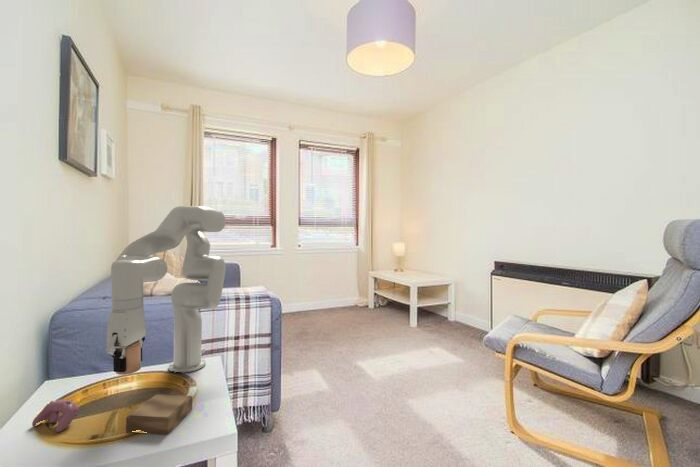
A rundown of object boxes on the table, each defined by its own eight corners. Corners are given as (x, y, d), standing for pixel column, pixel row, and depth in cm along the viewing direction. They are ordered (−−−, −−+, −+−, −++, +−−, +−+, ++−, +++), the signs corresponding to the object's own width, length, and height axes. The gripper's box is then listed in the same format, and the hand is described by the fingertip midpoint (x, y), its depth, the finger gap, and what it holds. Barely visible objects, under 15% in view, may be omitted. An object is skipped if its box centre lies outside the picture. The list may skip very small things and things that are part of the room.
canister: (125, 365, 101) (125, 340, 101) (145, 365, 101) (145, 340, 100) (110, 374, 95) (110, 347, 95) (131, 375, 95) (131, 348, 94)
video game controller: (73, 431, 90) (85, 402, 93) (56, 433, 86) (70, 402, 89) (45, 425, 93) (58, 397, 96) (28, 426, 89) (42, 396, 92)
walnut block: (155, 408, 100) (155, 393, 100) (192, 409, 99) (192, 395, 99) (126, 432, 88) (126, 416, 88) (167, 434, 87) (168, 418, 87)
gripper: (135, 296, 106) (136, 354, 106) (90, 311, 89) (91, 380, 89) (159, 297, 105) (159, 355, 106) (118, 312, 88) (119, 381, 89)
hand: (128, 365), depth 98 cm, fingers closed on canister, 6 cm apart
